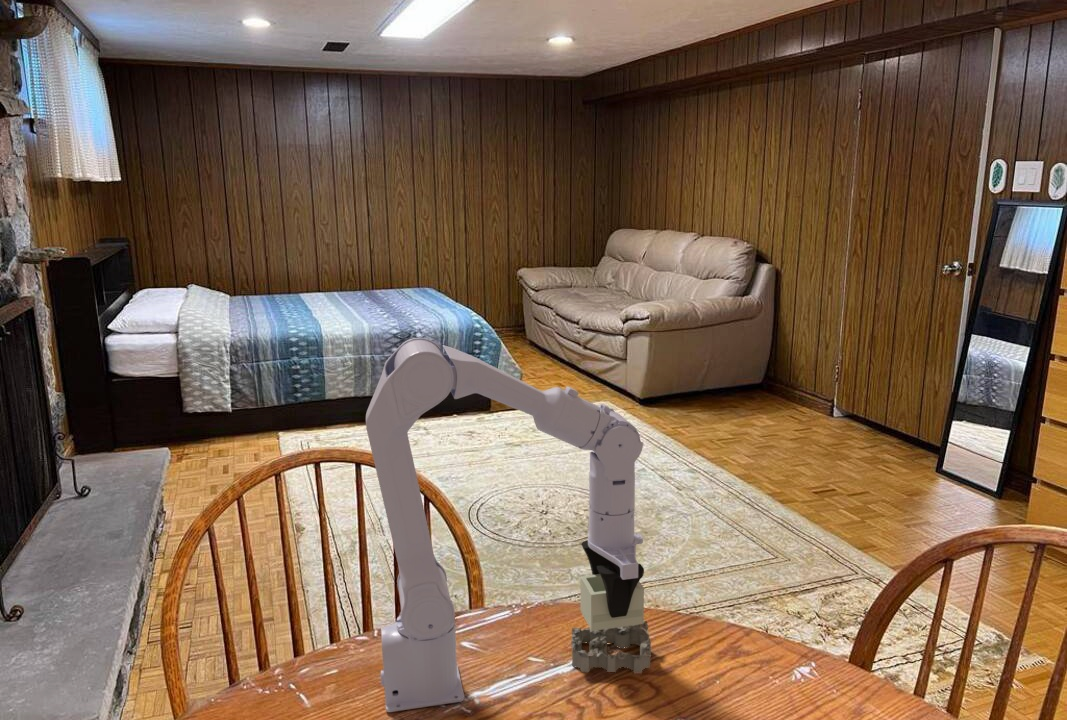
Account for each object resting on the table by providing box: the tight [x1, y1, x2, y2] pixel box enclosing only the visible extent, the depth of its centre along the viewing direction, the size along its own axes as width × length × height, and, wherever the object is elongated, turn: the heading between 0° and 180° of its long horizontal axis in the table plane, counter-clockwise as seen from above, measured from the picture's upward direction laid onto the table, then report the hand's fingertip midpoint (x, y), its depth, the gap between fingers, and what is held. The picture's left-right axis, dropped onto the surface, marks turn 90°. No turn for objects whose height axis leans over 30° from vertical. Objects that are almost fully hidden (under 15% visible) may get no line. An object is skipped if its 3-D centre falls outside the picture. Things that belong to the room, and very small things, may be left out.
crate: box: [579, 574, 645, 631], centre depth 103 cm, size 7×5×5 cm
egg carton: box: [570, 620, 652, 674], centre depth 105 cm, size 11×8×4 cm
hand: (611, 604), depth 103 cm, fingers closed on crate, 5 cm apart
